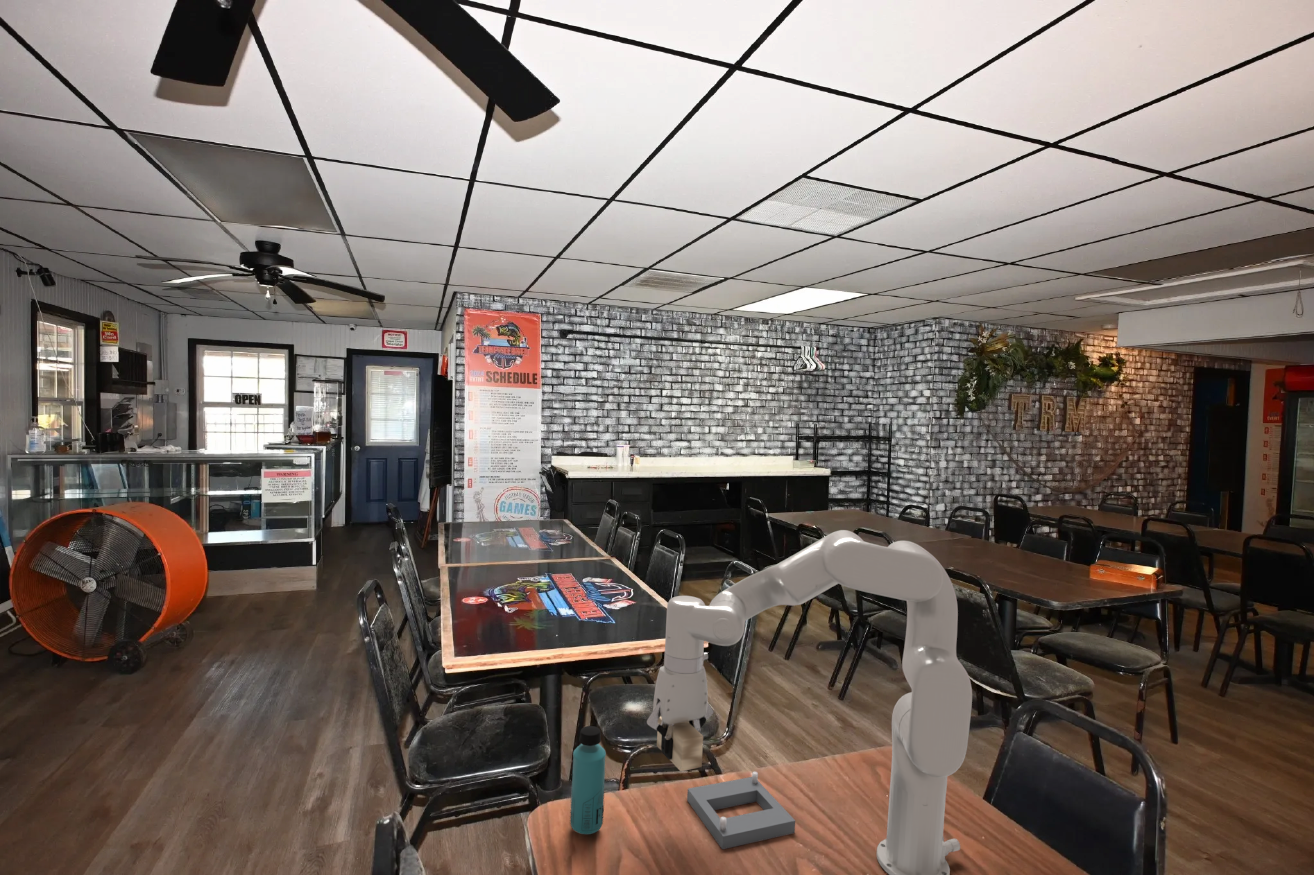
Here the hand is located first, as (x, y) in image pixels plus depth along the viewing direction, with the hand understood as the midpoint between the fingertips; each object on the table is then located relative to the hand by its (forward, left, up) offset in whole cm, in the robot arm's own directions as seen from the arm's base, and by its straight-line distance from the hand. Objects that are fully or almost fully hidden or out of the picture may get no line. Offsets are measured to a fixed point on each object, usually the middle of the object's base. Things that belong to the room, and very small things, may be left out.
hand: (678, 752), depth 126 cm
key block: (0, 0, -1) cm, 1 cm away
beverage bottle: (+17, -4, -15) cm, 23 cm away
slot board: (-14, 0, -15) cm, 21 cm away
